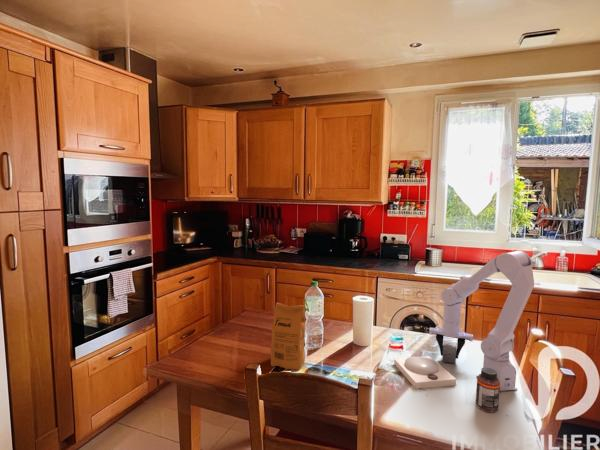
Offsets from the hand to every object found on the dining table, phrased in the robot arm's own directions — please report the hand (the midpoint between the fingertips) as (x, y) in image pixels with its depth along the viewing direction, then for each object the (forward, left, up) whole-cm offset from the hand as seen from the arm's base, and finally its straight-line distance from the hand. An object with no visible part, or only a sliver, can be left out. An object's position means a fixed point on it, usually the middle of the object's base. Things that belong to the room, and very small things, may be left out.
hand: (449, 355), depth 131 cm
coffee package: (+7, +59, -2) cm, 60 cm away
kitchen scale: (-7, +14, -2) cm, 16 cm away
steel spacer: (0, 0, -1) cm, 1 cm away
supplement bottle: (-27, +5, -2) cm, 28 cm away
